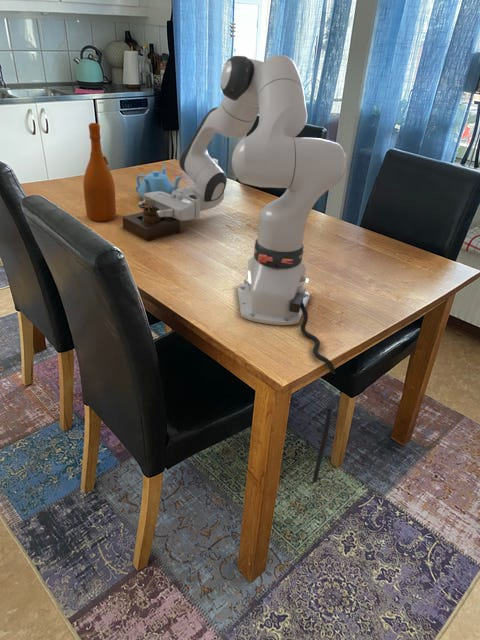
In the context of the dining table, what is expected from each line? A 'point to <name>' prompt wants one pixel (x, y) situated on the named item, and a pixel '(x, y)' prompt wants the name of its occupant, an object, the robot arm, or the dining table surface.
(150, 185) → the teapot
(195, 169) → the robot arm
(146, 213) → the utensil holder
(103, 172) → the wine bottle
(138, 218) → the socket block
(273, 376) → the dining table surface
